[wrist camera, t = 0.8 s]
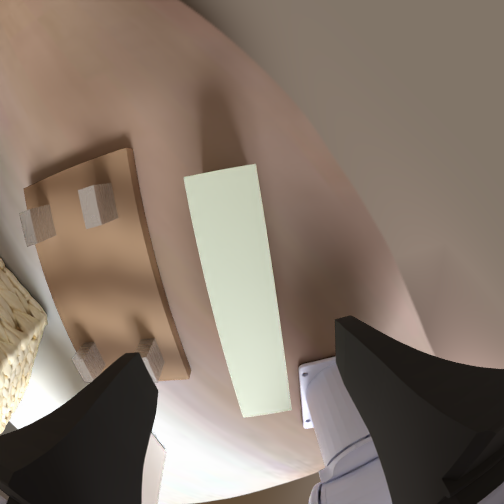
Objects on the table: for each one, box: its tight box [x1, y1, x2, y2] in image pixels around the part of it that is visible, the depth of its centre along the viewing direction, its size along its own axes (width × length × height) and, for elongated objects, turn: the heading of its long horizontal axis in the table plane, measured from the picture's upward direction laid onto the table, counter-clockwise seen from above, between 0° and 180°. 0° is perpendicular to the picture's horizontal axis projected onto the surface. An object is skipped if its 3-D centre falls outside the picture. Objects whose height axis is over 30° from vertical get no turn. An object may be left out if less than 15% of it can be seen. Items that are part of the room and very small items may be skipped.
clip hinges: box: [20, 183, 165, 383], centre depth 17 cm, size 14×7×2 cm, turn 9°
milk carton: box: [142, 433, 166, 504], centre depth 15 cm, size 7×7×19 cm
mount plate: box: [24, 148, 191, 381], centre depth 18 cm, size 18×10×1 cm, turn 9°
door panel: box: [183, 164, 292, 418], centre depth 16 cm, size 14×3×7 cm, turn 9°
